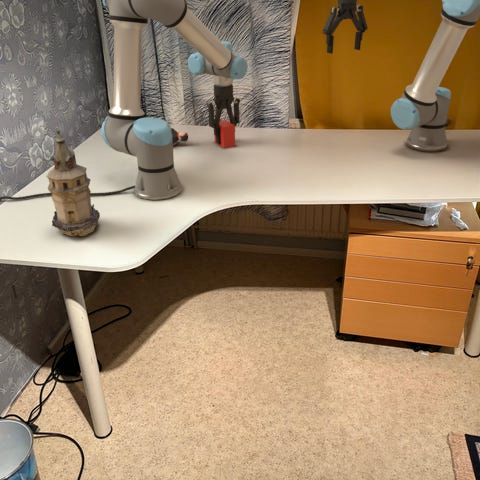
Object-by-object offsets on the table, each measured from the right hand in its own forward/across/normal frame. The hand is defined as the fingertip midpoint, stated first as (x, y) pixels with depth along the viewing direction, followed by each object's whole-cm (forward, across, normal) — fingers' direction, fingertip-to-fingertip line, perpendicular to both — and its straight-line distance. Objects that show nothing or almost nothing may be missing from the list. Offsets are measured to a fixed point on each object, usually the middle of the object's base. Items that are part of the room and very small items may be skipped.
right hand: (343, 51), depth 212 cm
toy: (+33, -72, +28) cm, 85 cm away
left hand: (+32, -48, +12) cm, 59 cm away
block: (+33, -48, +12) cm, 59 cm away
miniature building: (+33, -118, -31) cm, 126 cm away
